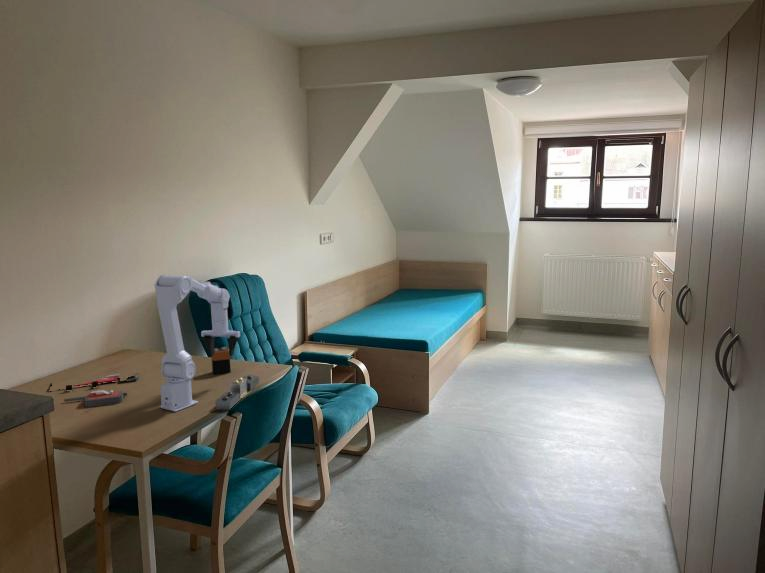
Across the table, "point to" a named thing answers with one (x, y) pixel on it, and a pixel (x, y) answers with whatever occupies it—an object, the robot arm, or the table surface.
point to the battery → (221, 361)
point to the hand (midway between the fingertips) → (222, 355)
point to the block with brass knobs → (239, 386)
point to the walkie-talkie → (100, 398)
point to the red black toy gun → (107, 379)
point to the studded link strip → (235, 394)
